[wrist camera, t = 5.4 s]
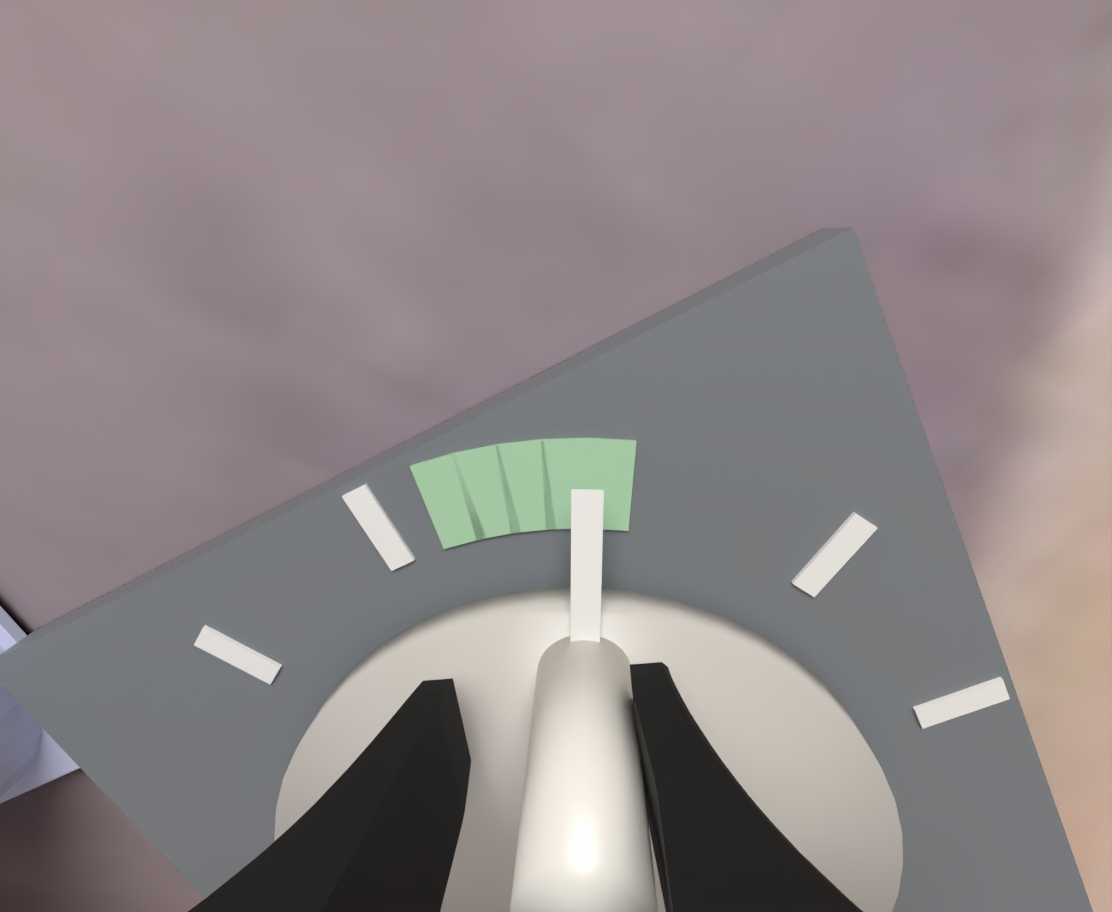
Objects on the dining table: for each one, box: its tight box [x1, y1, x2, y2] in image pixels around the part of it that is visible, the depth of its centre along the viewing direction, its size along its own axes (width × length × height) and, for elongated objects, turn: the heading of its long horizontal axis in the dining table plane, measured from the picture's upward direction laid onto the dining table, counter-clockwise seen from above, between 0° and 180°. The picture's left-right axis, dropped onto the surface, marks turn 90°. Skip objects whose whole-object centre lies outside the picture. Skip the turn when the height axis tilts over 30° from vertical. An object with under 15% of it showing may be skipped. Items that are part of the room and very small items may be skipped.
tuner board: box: [0, 228, 1093, 912], centre depth 17 cm, size 22×22×2 cm
